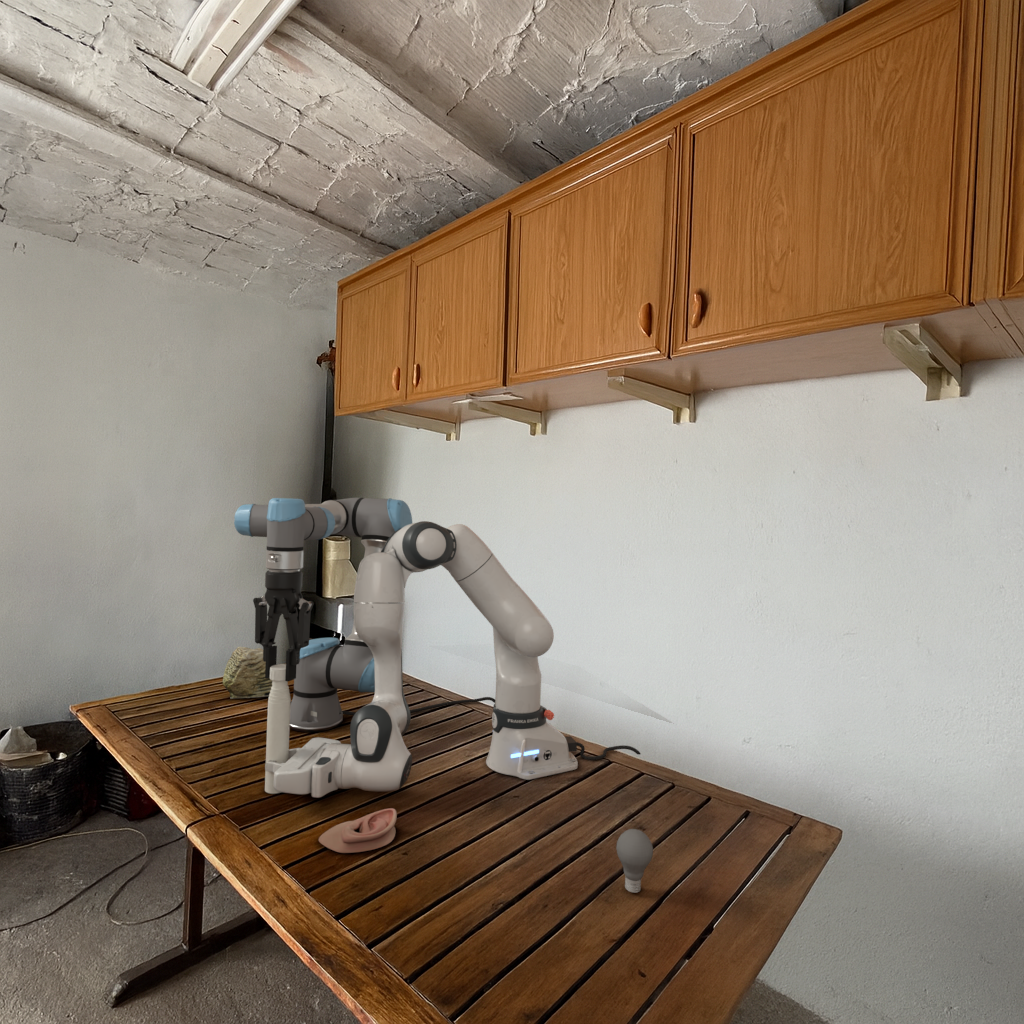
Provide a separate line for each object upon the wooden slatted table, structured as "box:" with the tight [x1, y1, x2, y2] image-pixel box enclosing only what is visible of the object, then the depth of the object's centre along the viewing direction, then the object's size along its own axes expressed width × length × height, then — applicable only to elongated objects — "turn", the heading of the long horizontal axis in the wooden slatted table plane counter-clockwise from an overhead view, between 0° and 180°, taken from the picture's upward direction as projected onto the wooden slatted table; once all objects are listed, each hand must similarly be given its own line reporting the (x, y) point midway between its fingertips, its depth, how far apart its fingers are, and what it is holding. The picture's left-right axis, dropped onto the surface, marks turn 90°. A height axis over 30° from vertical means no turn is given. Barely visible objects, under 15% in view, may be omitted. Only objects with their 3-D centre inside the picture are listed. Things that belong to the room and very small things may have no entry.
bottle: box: [264, 680, 292, 795], centre depth 136 cm, size 5×5×25 cm
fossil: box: [222, 646, 272, 699], centre depth 198 cm, size 9×18×15 cm, turn 132°
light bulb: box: [615, 828, 654, 894], centre depth 106 cm, size 6×6×10 cm
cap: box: [270, 663, 286, 681], centre depth 136 cm, size 4×4×2 cm
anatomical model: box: [318, 807, 398, 854], centre depth 118 cm, size 13×4×12 cm
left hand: (280, 678), depth 136 cm, fingers closed on cap, 4 cm apart
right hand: (273, 759), depth 136 cm, fingers closed on bottle, 4 cm apart
